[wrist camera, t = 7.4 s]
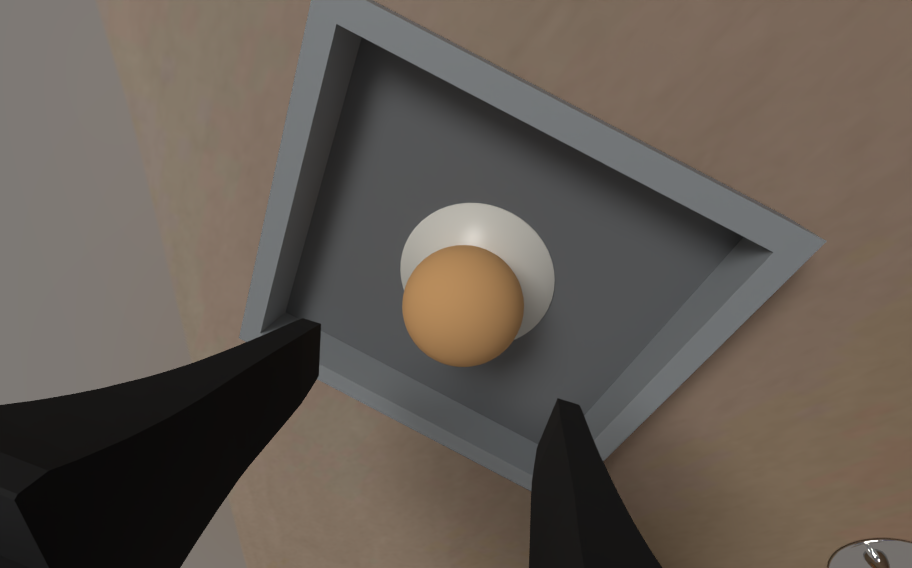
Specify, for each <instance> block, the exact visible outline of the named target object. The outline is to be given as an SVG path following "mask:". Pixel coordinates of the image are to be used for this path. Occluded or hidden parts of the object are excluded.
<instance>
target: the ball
mask: <svg viewBox="0 0 912 568" xmlns="http://www.w3.org/2000/svg"><path fill="white" fill-rule="evenodd" d="M402 312H403V318H404V322H405V326H406V328H407V331H408V333H409V335H410V337H411V338H412V340H413V341H414V343H415V344H416V345H417V346H418V348H419V349H420V350H421V351H423V352H424V353H425V354H426V355H428V356H429V357H431V358H432V359H434V360H436V361H438V362H440V363H443V364H446V365H450V366H455V367H471V366H476V365H481V364H484V363H486V362H488V361H490V360H492V359H494V358H496V357H497V356H499V355H500V354H501V353H502V352H504V351H505V350H506V349H507V348H508V347H509V346H510V344H511V343H512V342H513V340H514V339H515V337H516V335H517V334H518V331H519V329H520V327H521V323H522V319H523V314H524V298H523V293H522V289H521V286H520V283H519V281H518V279H517V277H516V275H515V273H514V272H513V271H512V269H511V268H510V267H509V265H508V264H507V263H506V262H505V261H504V260H502V259H501V258H500V257H499V256H497V255H496V254H494V253H492V252H490V251H488V250H486V249H483V248H480V247H476V246H471V245H456V246H450V247H446V248H443V249H440V250H438V251H436V252H434V253H432V254H431V255H429V256H428V257H426V258H425V259H424V260H423V261H422V262H421V263H420V264H419V265H418V266H417V267H416V268H415V269H414V271H413V272H412V274H411V276H410V277H409V279H408V281H407V284H406V286H405V290H404V294H403V301H402Z"/></svg>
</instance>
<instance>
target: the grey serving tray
mask: <svg viewBox="0 0 912 568" xmlns="http://www.w3.org/2000/svg"><path fill="white" fill-rule="evenodd" d="M825 242H826V240H824V239H822V238H821V237H819V236H817V235H816V234H814V233H813V232H811V231H809V230H808V229H806V228H804V227H803V226H801V225H800V224H798V223H796V222H795V221H793V220H791V219H790V218H788V217H786V216H784V215H782V214H780V213H779V212H777V211H775V210H773V209H771V208H769V207H767V206H765V205H763V204H761V203H759V202H758V201H756V200H754V199H752V198H750V197H748V196H746V195H744V194H742V193H740V192H738V191H736V190H735V189H733V188H731V187H729V186H727V185H725V184H723V183H721V182H719V181H717V180H715V179H713V178H712V177H710V176H708V175H706V174H704V173H702V172H700V171H698V170H696V169H694V168H692V167H691V166H689V165H687V164H685V163H683V162H681V161H679V160H677V159H675V158H673V157H671V156H669V155H668V154H666V153H664V152H662V151H660V150H658V149H656V148H654V147H652V146H650V145H648V144H647V143H645V142H643V141H641V140H639V139H637V138H635V137H633V136H631V135H629V134H627V133H625V132H624V131H622V130H620V129H618V128H616V127H614V126H612V125H610V124H608V123H606V122H604V121H603V120H601V119H599V118H597V117H595V116H593V115H591V114H589V113H587V112H585V111H583V110H581V109H580V108H578V107H576V106H574V105H572V104H570V103H568V102H566V101H564V100H562V99H560V98H558V97H557V96H555V95H553V94H551V93H549V92H547V91H545V90H543V89H541V88H539V87H537V86H536V85H534V84H532V83H530V82H528V81H526V80H524V79H522V78H520V77H518V76H516V75H514V74H513V73H511V72H509V71H507V70H505V69H503V68H501V67H499V66H497V65H495V64H493V63H492V62H490V61H488V60H486V59H484V58H482V57H480V56H478V55H476V54H474V53H472V52H470V51H469V50H467V49H465V48H463V47H461V46H459V45H457V44H455V43H453V42H451V41H449V40H447V39H446V38H444V37H442V36H440V35H438V34H436V33H434V32H432V31H430V30H428V29H426V28H425V27H423V26H421V25H419V24H417V23H415V22H413V21H411V20H409V19H407V18H405V17H403V16H402V15H400V14H398V13H396V12H394V11H392V10H390V9H388V8H386V7H384V6H382V5H381V4H379V3H377V2H375V1H373V0H311V4H310V9H309V13H308V18H307V23H306V27H305V32H304V37H303V41H302V46H301V51H300V55H299V60H298V65H297V69H296V74H295V79H294V83H293V88H292V93H291V97H290V102H289V107H288V112H287V116H286V121H285V126H284V130H283V135H282V140H281V144H280V149H279V154H278V158H277V163H276V168H275V172H274V177H273V182H272V186H271V191H270V196H269V200H268V205H267V210H266V215H265V219H264V224H263V229H262V233H261V238H260V243H259V247H258V252H257V257H256V261H255V266H254V271H253V275H252V280H251V285H250V289H249V294H248V299H247V303H246V308H245V313H244V318H243V322H242V327H241V332H240V336H239V338H240V339H242V340H244V341H245V342H248V341H250V340H253V339H255V338H257V337H260V336H262V335H264V334H267V333H269V332H271V331H273V330H276V329H278V328H280V327H282V326H285V325H287V324H289V323H292V322H294V321H296V320H299V319H302V318H304V319H307V320H311V321H314V322H317V323H320V324H321V340H320V362H319V376H318V378H317V379H318V380H320V381H322V382H324V383H325V384H327V385H329V386H331V387H333V388H335V389H337V390H339V391H341V392H343V393H345V394H346V395H348V396H350V397H352V398H354V399H356V400H358V401H360V402H362V403H364V404H366V405H367V406H369V407H371V408H373V409H375V410H377V411H379V412H381V413H383V414H385V415H387V416H388V417H390V418H392V419H394V420H396V421H398V422H400V423H402V424H404V425H406V426H407V427H409V428H411V429H413V430H415V431H417V432H419V433H421V434H423V435H425V436H427V437H428V438H430V439H432V440H434V441H436V442H438V443H440V444H442V445H444V446H446V447H448V448H449V449H451V450H453V451H455V452H457V453H459V454H461V455H463V456H465V457H467V458H468V459H470V460H472V461H474V462H476V463H478V464H480V465H482V466H484V467H486V468H488V469H489V470H491V471H493V472H495V473H497V474H499V475H501V476H503V477H505V478H507V479H509V480H510V481H512V482H514V483H516V484H518V485H520V486H522V487H524V488H526V489H528V490H530V491H531V489H532V477H533V470H534V463H535V456H536V450H537V446H538V444H539V441H540V439H541V437H542V434H543V432H544V429H545V427H546V425H547V422H548V420H549V417H550V415H551V413H552V410H553V408H554V406H555V403H556V401H557V398H559V399H562V400H565V401H569V402H572V403H575V404H578V405H580V407H581V409H582V411H583V414H584V417H585V419H586V422H587V424H588V427H589V430H590V432H591V435H592V437H593V440H594V442H595V444H596V447H597V449H598V451H599V454H600V456H601V458H602V460H603V461H604V460H605V459H606V458H607V457H608V456H609V455H610V454H611V453H612V452H613V451H614V450H615V449H616V448H617V447H618V446H619V445H620V444H621V443H622V442H623V441H624V440H625V439H626V438H627V437H628V436H629V435H631V434H632V433H633V432H634V431H635V430H636V429H637V428H638V427H639V426H640V425H641V424H642V423H643V422H644V421H645V420H646V419H647V418H648V417H649V416H650V415H651V414H652V413H653V412H654V411H655V410H656V409H657V408H658V407H659V406H660V405H661V404H662V403H663V402H664V401H665V400H666V399H667V398H668V397H669V396H670V395H671V394H672V393H673V392H674V391H675V390H676V389H677V388H678V387H679V386H680V385H681V384H682V383H683V382H684V381H685V380H686V379H687V378H688V377H689V376H690V375H691V374H692V373H693V372H694V371H695V370H696V369H697V368H698V367H699V366H701V365H702V364H703V363H704V362H705V361H706V360H707V359H708V358H709V357H710V356H711V355H712V354H713V353H714V352H715V351H716V350H717V349H718V348H719V347H720V346H721V345H722V344H723V343H724V342H725V341H726V340H727V339H728V338H729V337H730V336H731V335H732V334H733V333H734V332H735V331H736V330H737V329H738V328H739V327H740V326H741V325H742V324H743V323H744V322H745V321H746V320H747V319H748V318H749V317H750V316H751V315H752V314H753V313H754V312H755V311H756V310H757V309H758V308H759V307H760V306H761V305H762V304H763V303H764V302H765V301H766V300H767V299H768V298H770V297H771V296H772V295H773V294H774V293H775V292H776V291H777V290H778V289H779V288H780V287H781V286H782V285H783V284H784V283H785V282H786V281H787V280H788V279H789V278H790V277H791V276H792V275H793V274H794V273H795V272H796V271H797V270H798V269H799V268H800V267H801V266H802V265H803V264H804V263H805V262H806V261H807V260H808V259H809V258H810V257H811V256H812V255H813V254H814V253H815V252H816V251H817V250H818V249H819V248H820V247H821V246H822V245H823V244H824V243H825ZM456 245H471V246H476V247H480V248H483V249H486V250H488V251H490V252H492V253H494V254H496V255H497V256H499V257H500V258H501V259H502V260H504V261H505V262H506V263H507V264H508V265H509V267H510V268H511V269H512V271H513V272H514V273H515V275H516V277H517V279H518V281H519V283H520V286H521V289H522V293H523V298H524V314H523V319H522V323H521V327H520V329H519V331H518V334H517V335H516V337H515V339H514V340H513V342H512V343H511V344H510V346H509V347H508V348H507V349H506V350H505V351H504V352H502V353H501V354H500V355H499V356H497V357H496V358H494V359H492V360H490V361H488V362H486V363H484V364H481V365H476V366H471V367H455V366H450V365H446V364H443V363H440V362H438V361H436V360H434V359H432V358H431V357H429V356H428V355H426V354H425V353H424V352H423V351H421V350H420V349H419V348H418V346H417V345H416V344H415V343H414V341H413V340H412V338H411V337H410V335H409V333H408V331H407V328H406V326H405V322H404V318H403V312H402V301H403V294H404V290H405V286H406V284H407V281H408V279H409V277H410V276H411V274H412V272H413V271H414V269H415V268H416V267H417V266H418V265H419V264H420V263H421V262H422V261H423V260H424V259H425V258H426V257H428V256H429V255H431V254H432V253H434V252H436V251H438V250H440V249H443V248H446V247H450V246H456Z"/></svg>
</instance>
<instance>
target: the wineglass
mask: <svg viewBox="0 0 912 568" xmlns="http://www.w3.org/2000/svg"><path fill="white" fill-rule="evenodd" d="M828 568H912V542H908V541H904V540H898V539H885V538H881V539H868V540H862V541H858V542H855V543H851V544H849V545H846V546H844V547H842V548H841V549H839V550H838V551H837V552H835V553H834V554H833V555H832V557H831V558H830V560H829V563H828Z"/></svg>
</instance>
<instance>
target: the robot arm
mask: <svg viewBox="0 0 912 568" xmlns="http://www.w3.org/2000/svg"><path fill="white" fill-rule="evenodd" d="M320 340H321V324H320V323H317V322H314V321H311V320H307V319H304V318H302V319H299V320H296V321H294V322H292V323H289V324H287V325H285V326H282V327H280V328H278V329H276V330H273V331H271V332H269V333H267V334H264V335H262V336H260V337H257V338H255V339H253V340H250V341H248V342H246V343H243V344H241V345H239V346H236V347H234V348H231V349H229V350H226V351H223V352H221V353H218V354H216V355H213V356H210V357H208V358H205V359H203V360H200V361H197V362H194V363H191V364H189V365H186V366H182V367H179V368H176V369H173V370H170V371H167V372H163V373H160V374H156V375H153V376H149V377H146V378H142V379H138V380H134V381H129V382H126V383H121V384H117V385H113V386H109V387H105V388H101V389H96V390H91V391H86V392H81V393H76V394H71V395H65V396H59V397H54V398H48V399H41V400H35V401H29V402H21V403H13V404H5V405H0V568H180V567H181V566H182V564H183V562H184V561H185V559H186V557H187V556H188V554H189V553H190V551H191V550H192V548H193V546H194V545H195V543H196V542H197V540H198V539H199V537H200V536H201V534H202V533H203V531H204V530H205V528H206V526H207V525H208V524H209V522H210V520H211V519H212V517H213V516H214V514H215V513H216V511H217V510H218V508H219V507H220V506H221V504H222V502H223V501H224V500H225V498H226V497H227V495H228V494H229V493H230V491H231V490H232V488H233V487H234V485H235V484H236V482H237V481H238V480H239V478H240V477H241V476H242V474H243V473H244V472H245V470H246V469H247V468H248V467H249V465H250V464H251V463H252V462H253V461H254V459H255V458H256V457H257V456H258V455H259V453H260V452H261V451H262V450H263V449H264V447H265V446H266V445H267V444H268V443H269V442H270V440H271V439H272V438H273V437H274V436H275V434H276V433H277V432H278V431H279V430H280V429H281V427H282V426H283V425H284V424H285V423H286V421H287V420H288V419H289V418H290V417H291V415H292V414H293V413H294V412H295V411H296V409H297V408H298V407H299V406H300V404H301V403H302V401H303V400H304V398H305V397H306V395H307V394H308V392H309V391H310V389H311V388H312V386H313V384H314V383H315V381H316V380H317V378H318V376H319V362H320ZM529 568H662V567H661V565H660V564H659V562H658V561H657V559H656V558H655V556H654V555H653V553H652V552H651V550H650V549H649V547H648V545H647V544H646V542H645V540H644V539H643V537H642V536H641V534H640V532H639V531H638V529H637V527H636V525H635V524H634V522H633V520H632V518H631V517H630V515H629V513H628V511H627V509H626V507H625V505H624V504H623V502H622V500H621V498H620V496H619V494H618V492H617V490H616V488H615V486H614V484H613V482H612V480H611V478H610V476H609V474H608V471H607V469H606V467H605V465H604V463H603V460H602V458H601V456H600V454H599V451H598V449H597V447H596V444H595V442H594V440H593V437H592V435H591V432H590V430H589V427H588V424H587V422H586V419H585V417H584V414H583V411H582V409H581V407H580V405H578V404H575V403H572V402H569V401H565V400H562V399H559V398H557V401H556V403H555V406H554V408H553V410H552V413H551V415H550V417H549V420H548V422H547V425H546V427H545V429H544V432H543V434H542V437H541V439H540V441H539V444H538V446H537V450H536V456H535V463H534V470H533V477H532V489H531V520H530V556H529Z"/></svg>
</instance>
